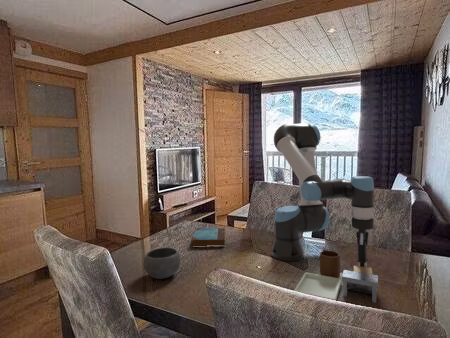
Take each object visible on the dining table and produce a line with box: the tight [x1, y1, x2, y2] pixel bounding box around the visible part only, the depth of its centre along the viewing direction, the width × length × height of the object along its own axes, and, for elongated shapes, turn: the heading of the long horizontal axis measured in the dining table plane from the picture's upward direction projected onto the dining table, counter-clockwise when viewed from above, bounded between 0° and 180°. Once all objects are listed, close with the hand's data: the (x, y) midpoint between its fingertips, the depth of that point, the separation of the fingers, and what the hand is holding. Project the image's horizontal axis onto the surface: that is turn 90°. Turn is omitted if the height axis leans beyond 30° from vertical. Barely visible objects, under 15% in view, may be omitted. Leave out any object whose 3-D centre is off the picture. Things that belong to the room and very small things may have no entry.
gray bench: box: [341, 269, 379, 304], centre depth 100 cm, size 11×9×7 cm
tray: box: [293, 271, 343, 300], centre depth 103 cm, size 14×17×2 cm
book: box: [191, 227, 226, 247], centre depth 162 cm, size 23×18×5 cm
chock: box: [352, 265, 373, 275], centre depth 105 cm, size 6×4×6 cm, turn 69°
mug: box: [319, 248, 341, 279], centre depth 116 cm, size 12×8×9 cm, turn 175°
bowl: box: [143, 247, 181, 280], centre depth 118 cm, size 15×15×10 cm
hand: (362, 277), depth 109 cm, fingers closed
